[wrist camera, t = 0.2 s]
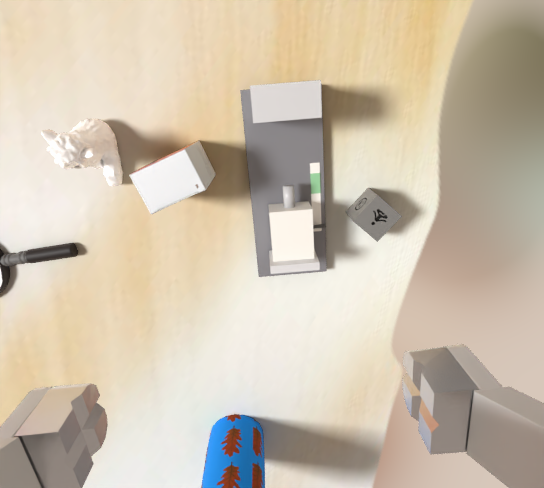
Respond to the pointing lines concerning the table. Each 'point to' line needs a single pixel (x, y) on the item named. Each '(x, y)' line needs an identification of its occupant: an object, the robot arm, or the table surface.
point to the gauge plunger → (292, 235)
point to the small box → (174, 177)
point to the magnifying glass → (33, 258)
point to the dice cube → (373, 214)
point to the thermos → (235, 454)
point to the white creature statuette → (87, 148)
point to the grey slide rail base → (284, 157)
